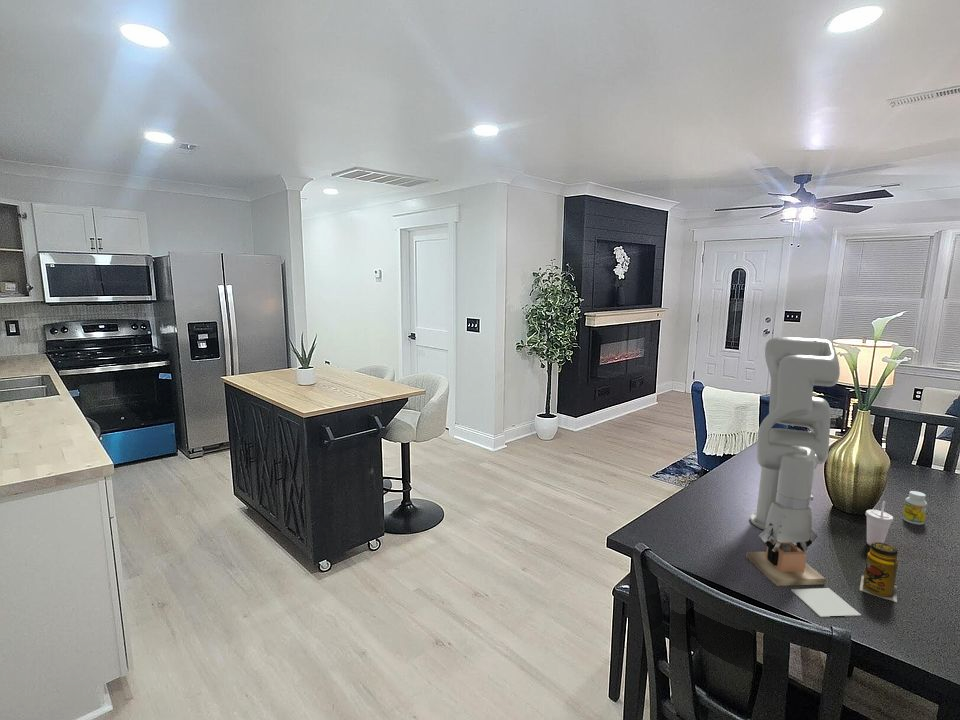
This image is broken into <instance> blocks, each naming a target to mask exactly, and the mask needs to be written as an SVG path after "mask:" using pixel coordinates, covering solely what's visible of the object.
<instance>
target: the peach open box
mask: <svg viewBox="0 0 960 720" xmlns="http://www.w3.org/2000/svg"><path fill="white" fill-rule="evenodd" d="M774 543H775V541H774ZM774 543H773V545H774ZM783 544H789V545H790V546H791V552H784V551H783V550H782V545H783ZM765 552H766V559H767V555H768V547H767V546H766V551H765ZM777 552H779V554H778V562H777V566H775V567H776V568H777V569H778V570H779V571H780V572H801V571H804V569H805V562H806V560H807V553H806V551H805V552H803V551H802V550H801V549H799V548H798V547H797V546H796V544H794V542H790V543H781V544H780V546H779V548H778V549H777ZM767 560H768V559H767ZM768 561H769V560H768ZM769 562H770V561H769ZM770 563H771V562H770ZM806 563H807V562H806ZM771 564H772V563H771ZM772 565H773V564H772Z"/></svg>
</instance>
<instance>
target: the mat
mask: <svg viewBox="0 0 960 720" xmlns="http://www.w3.org/2000/svg"><path fill="white" fill-rule="evenodd" d="M790 591H791V592H792V593H793V594H794V595H796V597H797V598H799V599H800V601H802V602H803V603H804V604H805V605H806V606H807V607H808V608H809V609H811V611H813V612H814V613H815V614H816V615H818V617H819V618H831V617H830V616H845V617H861V616H862V613H860V612H859V611H857V610H856V609H855V608H853V606H851V605H850V604H849V603H847V601H845V600H844V599H843V598H842V597H840V596H839V594H837V593H836V592H834V591H833V590H832V589H831V588H829V587H825V588H824V587H819V588H794V589H793V588H792V589H790Z"/></svg>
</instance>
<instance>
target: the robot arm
mask: <svg viewBox="0 0 960 720" xmlns="http://www.w3.org/2000/svg"><path fill="white" fill-rule="evenodd" d="M764 350H765V351H764V358H765V362H766V366H767V369H768V372H769V377H770V389H769V390H770V391H769V392H770V393H769V404H768V405H769V406H768V410H769V411H768V414H767V415H766V416H765V418H763V420H762V421H761V423H760V425H759V428H758V432H757V441H756V443H757V444H756V461H757V463H758V465H759V466H760V467H761V471H760V477H759V485H758V493H757V494H758V496H757V502H756V503H757V504H756V511H755V512H753V513H751V514H750V517H749V520H750V522H751V523H752V524H753V525H754V526H755V527H757V528H759V529H760V530H763V531H762V532H760V534H758V538H759V539H760V540H761V541H762V542H763V544H765V545H766V548H767V547H768V555H767V559H768V560H769V561H770V562H771V563H772V564H773V565H774V566H777V562H778V554H779V552H777V549H778V548H779V546H780V544H781V543H790V542H792V543H795V545H796V546H797V547H798V548H799V549H801V550H802V551H803V552H805V553H806V551H808V547H810V546H811V545H812V544H813V542H814V541H816V540H817V539H818V535H817V534H816V533H815V531H813V529H812V528H813V514H812V507H811V506H810V503H811V501H814V496H813V495H812V492H813V491H812V489H813V482H814V475H815V470H816V469H817V466H818V465H822V464H824V463H826V461H827V459H828V456H829V450H830V432H831V431H830V430H831V407H830V404H829V402H828V401H827V400H826V399H824V398H822V397H818V396H814V395H813V393H814V392H813V391H814V386H820V387H834V386H835V385H837V383H838V382H839V379H840V371H841V369H840V361H839V358H838V355H837V351H836V349H835V345H834V343H833V342H832V341H831V340H828V339H827V338H826V339H825V338H812V337H795V336H777V337H772V338H770V339H769V340H768V341H767V342H766V344H765V348H764ZM775 424H778V425H779V424H781V425H786V426H794V427H804V428H808V429H809V430H810V431H805V430H804V431H803V430H795V429H789V428H777V427H775V428H774V427H773V426H775ZM768 538H769V539H768ZM774 541H775V543H774ZM773 543H774V545H773Z"/></svg>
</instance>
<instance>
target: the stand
mask: <svg viewBox="0 0 960 720" xmlns="http://www.w3.org/2000/svg"><path fill="white" fill-rule="evenodd" d="M782 550H783V551H784V552H791V546H790V545H789V544H783V545H782ZM745 557H746V559H747V560H748V561H750V562H751V563H752V564H753V565H754V566H755V567H756V568H757V569H758V570H759V571H760V572H762V573H763V575H765V576H766V578H767V579H768V580H770V581H771V582H772V583H773V584H774V585H775V586H776V587H780V586H782V587H783V586H785V587H786V586H805V585H806V586H809V585H810V586H813V585H816V586H817V585H825V584H826V578H825V576H823V575H821V574H820V573H819V572H818V571H817V570H816V569H814V568H813V567H812V566H811V565H809V564H808V563H807V562H805V569H804V571H801V572H780V571H779V570H778V569H777V568H776V567H775V566H774V565H772V564H771V563H770V562H769V561H768V560H767V559H766V551H747V552H746V556H745Z"/></svg>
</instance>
